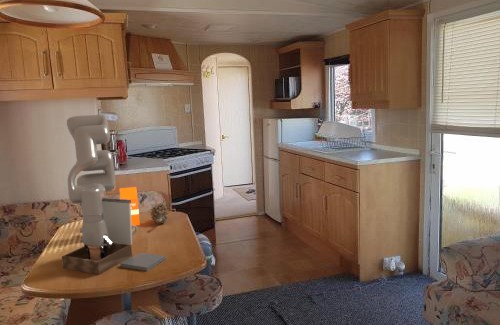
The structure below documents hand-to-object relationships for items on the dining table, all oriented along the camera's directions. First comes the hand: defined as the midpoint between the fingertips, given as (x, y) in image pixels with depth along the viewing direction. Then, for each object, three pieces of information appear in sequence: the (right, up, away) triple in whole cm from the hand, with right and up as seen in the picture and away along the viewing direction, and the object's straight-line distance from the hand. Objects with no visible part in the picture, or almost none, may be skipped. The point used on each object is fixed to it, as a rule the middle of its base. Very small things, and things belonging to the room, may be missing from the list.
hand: (98, 259), depth 169 cm
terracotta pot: (0, -1, 0) cm, 1 cm away
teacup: (+4, +2, +21) cm, 22 cm away
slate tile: (+19, -1, -3) cm, 20 cm away
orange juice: (-1, +7, +51) cm, 52 cm away
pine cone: (+15, +7, +48) cm, 51 cm away
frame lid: (+3, +15, +7) cm, 17 cm away
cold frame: (0, -1, 0) cm, 1 cm away
